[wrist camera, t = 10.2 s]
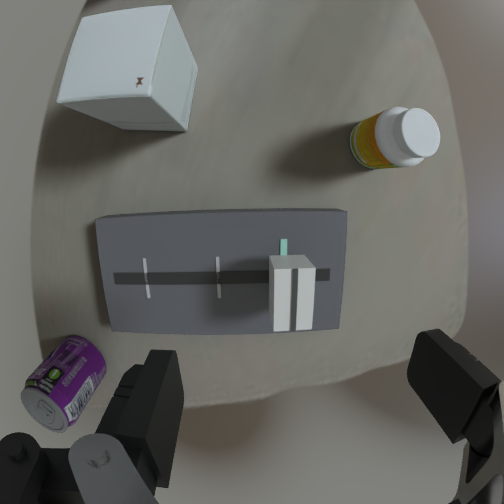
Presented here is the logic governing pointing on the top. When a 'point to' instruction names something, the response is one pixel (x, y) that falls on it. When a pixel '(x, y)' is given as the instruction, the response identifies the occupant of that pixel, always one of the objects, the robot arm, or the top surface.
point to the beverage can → (64, 384)
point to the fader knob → (291, 292)
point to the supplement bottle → (395, 138)
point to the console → (215, 267)
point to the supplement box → (131, 70)
